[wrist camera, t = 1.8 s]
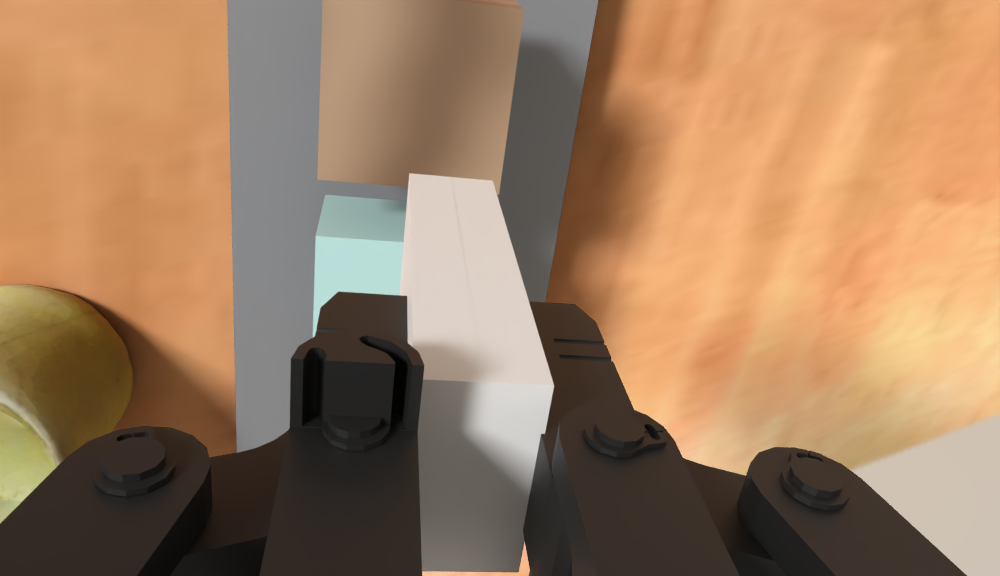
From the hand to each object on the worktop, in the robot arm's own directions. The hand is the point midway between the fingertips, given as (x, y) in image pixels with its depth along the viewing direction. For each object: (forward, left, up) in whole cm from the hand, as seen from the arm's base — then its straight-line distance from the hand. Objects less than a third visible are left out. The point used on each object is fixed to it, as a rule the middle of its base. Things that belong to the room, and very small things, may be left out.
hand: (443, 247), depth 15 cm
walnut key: (0, 0, -16) cm, 16 cm away
